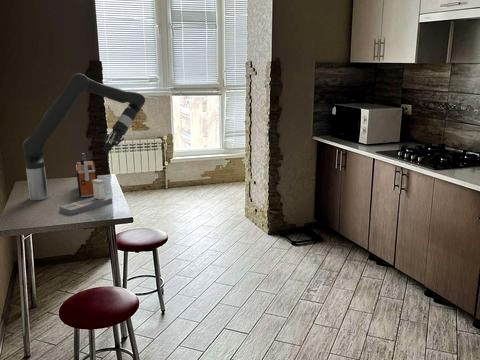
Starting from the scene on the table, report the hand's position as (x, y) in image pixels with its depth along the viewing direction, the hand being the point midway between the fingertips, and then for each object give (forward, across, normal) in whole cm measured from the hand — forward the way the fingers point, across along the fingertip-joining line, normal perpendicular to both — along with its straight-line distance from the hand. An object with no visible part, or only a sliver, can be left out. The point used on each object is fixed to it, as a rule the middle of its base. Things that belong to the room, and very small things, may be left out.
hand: (105, 150), depth 241 cm
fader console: (+31, +4, +6) cm, 32 cm away
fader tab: (+23, +4, +10) cm, 25 cm away
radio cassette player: (+18, -21, +19) cm, 33 cm away
